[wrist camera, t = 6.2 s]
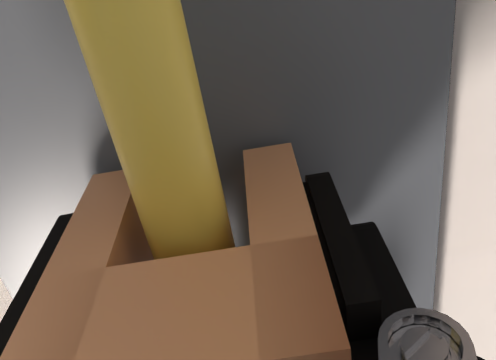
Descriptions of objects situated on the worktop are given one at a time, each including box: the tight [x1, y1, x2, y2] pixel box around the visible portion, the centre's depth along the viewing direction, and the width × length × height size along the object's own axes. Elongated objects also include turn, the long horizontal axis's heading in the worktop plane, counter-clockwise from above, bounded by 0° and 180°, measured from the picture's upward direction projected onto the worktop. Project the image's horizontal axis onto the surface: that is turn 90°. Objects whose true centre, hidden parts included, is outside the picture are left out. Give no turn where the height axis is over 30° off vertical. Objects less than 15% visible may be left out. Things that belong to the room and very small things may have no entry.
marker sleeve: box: [0, 142, 351, 360], centre depth 9 cm, size 4×5×6 cm
